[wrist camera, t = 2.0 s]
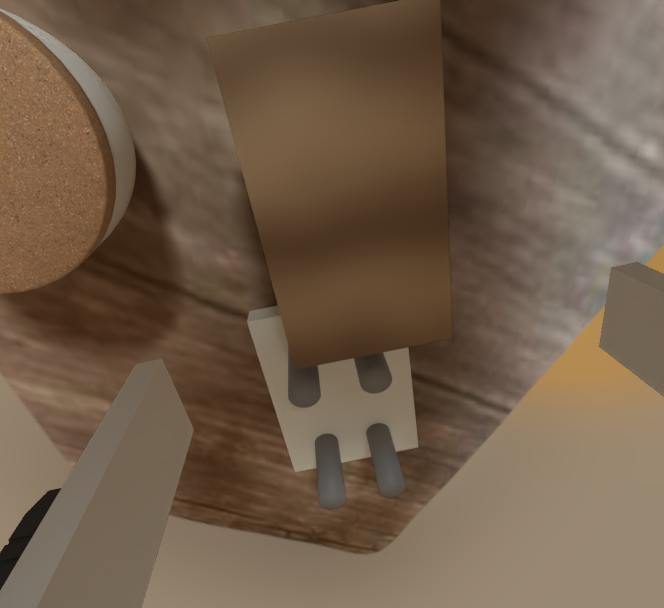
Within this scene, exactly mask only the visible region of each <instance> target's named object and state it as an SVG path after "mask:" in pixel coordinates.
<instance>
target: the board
mask: <svg viewBox="0 0 664 608" xmlns="http://www.w3.org/2000/svg"><path fill="white" fill-rule="evenodd" d="M207 42H208V45H209V49H210V53H211V57H212V60H213V64H214V68H215V72H216V75H217V79H218V83H219V87H220V90H221V94H222V98H223V102H224V105H225V109H226V113H227V117H228V120H229V124H230V128H231V132H232V135H233V139H234V143H235V147H236V151H237V154H238V158H239V162H240V166H241V169H242V173H243V177H244V181H245V184H246V188H247V192H248V196H249V199H250V203H251V207H252V211H253V214H254V218H255V222H256V226H257V229H258V233H259V237H260V241H261V244H262V248H263V252H264V256H265V259H266V263H267V267H268V271H269V274H270V278H271V282H272V286H273V289H274V293H275V297H276V301H277V304H278V308H279V312H280V316H281V320H282V323H283V327H284V331H285V335H286V338H287V342H288V346H289V350H290V353H291V357H292V361H293V365H294V368H295V370H296V369H302V368H307V367H312V366H317V365H322V364H327V363H332V362H337V361H342V360H347V359H352V358H357V357H362V356H367V355H372V354H377V353H382V352H388V351H393V350H398V349H403V348H408V347H413V346H418V345H423V344H428V343H433V342H438V341H443V340H448V339H453V336H452V308H451V279H450V251H449V222H448V194H447V165H446V137H445V108H444V80H443V51H442V23H441V0H399V1H394V2H389V3H384V4H378V5H373V6H368V7H363V8H358V9H352V10H347V11H342V12H337V13H332V14H326V15H321V16H316V17H311V18H306V19H300V20H295V21H290V22H285V23H280V24H275V25H269V26H264V27H259V28H254V29H249V30H243V31H238V32H233V33H228V34H223V35H217V36H212V37H207Z"/></svg>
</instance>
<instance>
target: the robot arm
mask: <svg viewBox="0 0 664 608" xmlns="http://www.w3.org/2000/svg"><path fill="white" fill-rule="evenodd" d="M599 347H600V348H601V349H603V350H604V351H605V352H607V353H608V354H609V355H611V356H612V357H613V358H614V359H616V360H617V361H618V362H619V363H621V364H622V365H623V366H625V367H626V368H627V369H629V370H630V371H631V372H632V373H634V374H635V375H636V376H638V377H639V378H640V379H642V380H643V381H644V382H645V383H647V384H648V385H649V386H651V387H652V388H653V389H654V390H656V391H657V392H658V393H660V394H661V395H662V396H664V274H663V273H661V272H658V271H656V270H654V269H652V268H649V267H647V266H645V265H643V264H640V263H638V262H635V263H630V264H626V265H621V266H616V267H611V273H610V279H609V286H608V292H607V299H606V305H605V312H604V319H603V325H602V332H601V338H600V344H599ZM193 432H194V428H193V426H192V424H191V422H190V420H189V417H188V415H187V413H186V411H185V408H184V406H183V404H182V402H181V399H180V397H179V395H178V393H177V391H176V388H175V386H174V384H173V382H172V379H171V377H170V375H169V373H168V371H167V368H166V366H165V364H164V362H163V359H158V360H153V361H148V362H143V363H138V364H135V366H134V368H133V369H132V371H131V373H130V374H129V376H128V378H127V379H126V381H125V383H124V384H123V386H122V388H121V389H120V391H119V393H118V394H117V396H116V398H115V399H114V401H113V403H112V404H111V406H110V408H109V409H108V411H107V413H106V415H105V416H104V418H103V420H102V421H101V423H100V425H99V426H98V428H97V430H96V431H95V433H94V435H93V436H92V438H91V440H90V441H89V443H88V445H87V446H86V448H85V450H84V451H83V453H82V455H81V456H80V458H79V460H78V461H77V463H76V465H75V466H74V468H73V470H72V471H71V473H70V475H69V477H68V478H67V480H66V482H65V483H64V485H63V487H62V488H59V489H55V490H50V491H48V492H47V493H46V494H45V495H44V496H43V497H42V498H41V499H40V500H39V501H38V502H37V503H36V504H35V505H34V506H33V507H32V508H31V509H30V510H29V511H28V512H27V513H26V514H25V516H24V517H23V518H22V520H21V522H20V523H19V525H18V526H17V528H16V529H15V531H14V532H13V534H12V535H11V537H10V539H9V544H8V545H5V546H4V548H3V549H2V551H1V553H0V608H142V605H143V601H144V598H145V594H146V591H147V588H148V584H149V581H150V578H151V574H152V571H153V567H154V564H155V560H156V557H157V554H158V550H159V547H160V543H161V540H162V537H163V533H164V530H165V526H166V523H167V520H168V516H169V513H170V510H171V506H172V503H173V499H174V496H175V493H176V489H177V486H178V482H179V479H180V476H181V472H182V469H183V466H184V462H185V459H186V455H187V452H188V449H189V445H190V442H191V438H192V435H193Z"/></svg>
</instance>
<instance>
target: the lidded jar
mask: <svg viewBox="0 0 664 608" xmlns="http://www.w3.org/2000/svg"><path fill="white" fill-rule="evenodd" d="M135 179H136V157H135V149H134V144H133V140H132V137H131V133H130V129H129V127H128V124H127V122H126V120H125V117H124V115H123V113H122V110H121V109H120V107H119V105H118V103H117V102H116V100H115V98H114V97H113V95H112V93H111V92H110V91H109V89H108V88H107V87H106V85H105V84H104V83H103V81H102V80H101V79H100V78H99V76H98V75H97V74H96V73H95V72H94V71H93V70H92V69H91V68H90V67H89V66H88V65H87V64H86V63H85V62H84V61H83V60H82V59H81V58H80V57H79V56H77V55H76V54H75V53H74V52H72V51H71V50H70V49H69V48H67V47H66V46H65V45H64V44H62V43H61V42H60V41H59V40H57V39H56V38H55V37H53V36H51V35H50V34H48V33H46V32H45V31H43V30H42V29H40V28H38V27H37V26H35V25H33V24H32V23H30V22H28V21H26V20H24V19H23V18H21V17H19V16H17V15H14V14H12V13H10V12H8V11H5V10H3V9H1V8H0V294H8V293H18V292H25V291H29V290H33V289H37V288H41V287H44V286H46V285H49V284H51V283H53V282H55V281H58V280H60V279H61V278H63V277H64V276H66V275H67V274H69V273H70V272H72V271H73V270H75V269H76V268H77V267H79V266H80V265H81V264H82V263H83V262H84V261H85V260H86V259H87V258H88V257H89V256H90V255H91V254H92V253H93V252H94V251H95V250H96V248H97V247H98V246H99V245H100V244H101V243H102V242H103V241H104V240H105V239H106V238H107V237H108V236H109V235H110V234H111V233H112V232H113V230H114V229H115V227H116V226H117V224H118V223H119V221H120V220H121V218H122V217H123V215H124V214H125V211H126V209H127V207H128V204H129V202H130V199H131V196H132V193H133V189H134V184H135Z"/></svg>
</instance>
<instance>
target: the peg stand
mask: <svg viewBox="0 0 664 608" xmlns="http://www.w3.org/2000/svg"><path fill="white" fill-rule="evenodd" d="M247 324H248V327H249V330H250V333H251V336H252V339H253V342H254V346H255V349H256V352H257V355H258V358H259V361H260V364H261V368H262V371H263V374H264V377H265V380H266V383H267V386H268V389H269V393H270V396H271V399H272V402H273V405H274V408H275V411H276V415H277V418H278V421H279V424H280V427H281V430H282V433H283V436H284V440H285V443H286V446H287V449H288V452H289V455H290V458H291V462H292V465H293V468H294V471H295V472H299V471H304V470H309V469H314V468H316V469H317V482H318V496H319V504H320V506H321V507H323V508H324V509H328V510H334V509H338V508H340V507H342V506H343V505H344V504H345V503H346V493H345V486H344V479H343V472H342V465H341V463H343V462H348V461H353V460H358V459H363V458H368V457H372V462H373V466H374V470H375V475H376V479H377V483H378V488H379V492H380V494H381V495H382V496H384V497H387V498H393V497H397V496H399V495H401V494H402V493H404V491H405V490H406V483H405V479H404V476H403V473H402V469H401V466H400V463H399V460H398V456H397V453H396V452H398V451H403V450H408V449H413V448H417V447H419V446H418V436H417V426H416V417H415V407H414V397H413V387H412V378H411V368H410V358H409V348H403V349H398V350H393V351H388V352H382V353H377V354H372V355H367V356H362V357H357V358H352V359H347V360H342V361H337V362H332V363H327V364H322V365H317V366H312V367H307V368H302V369H296V370H295V368H294V365H293V361H292V357H291V353H290V350H289V346H288V342H287V338H286V335H285V331H284V327H283V323H282V320H281V316H280V312H279V308H278V305H277V306H272V307H267V308H262V309H257V310H252V311H249V315H248V320H247Z"/></svg>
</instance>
